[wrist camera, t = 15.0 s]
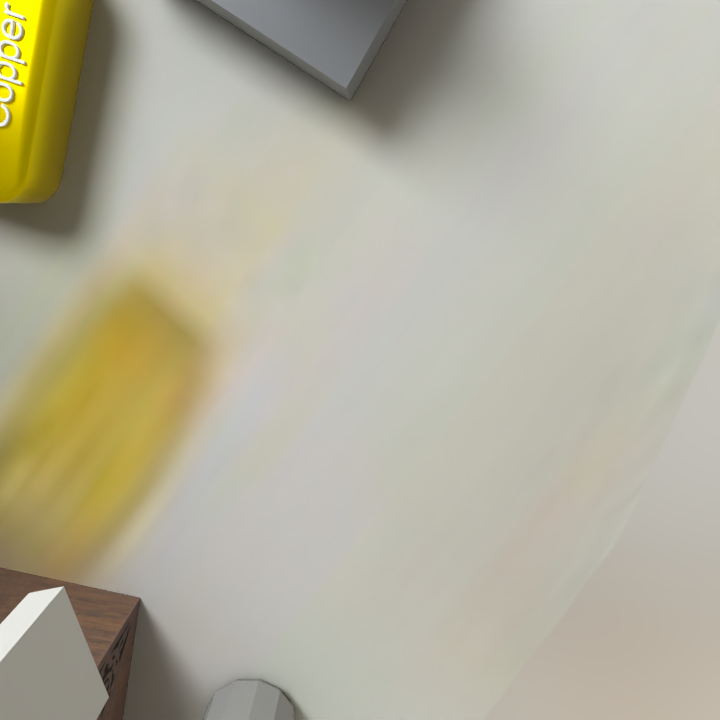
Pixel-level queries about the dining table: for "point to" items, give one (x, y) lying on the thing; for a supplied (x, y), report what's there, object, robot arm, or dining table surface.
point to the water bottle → (249, 702)
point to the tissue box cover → (88, 627)
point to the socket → (317, 33)
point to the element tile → (38, 92)
